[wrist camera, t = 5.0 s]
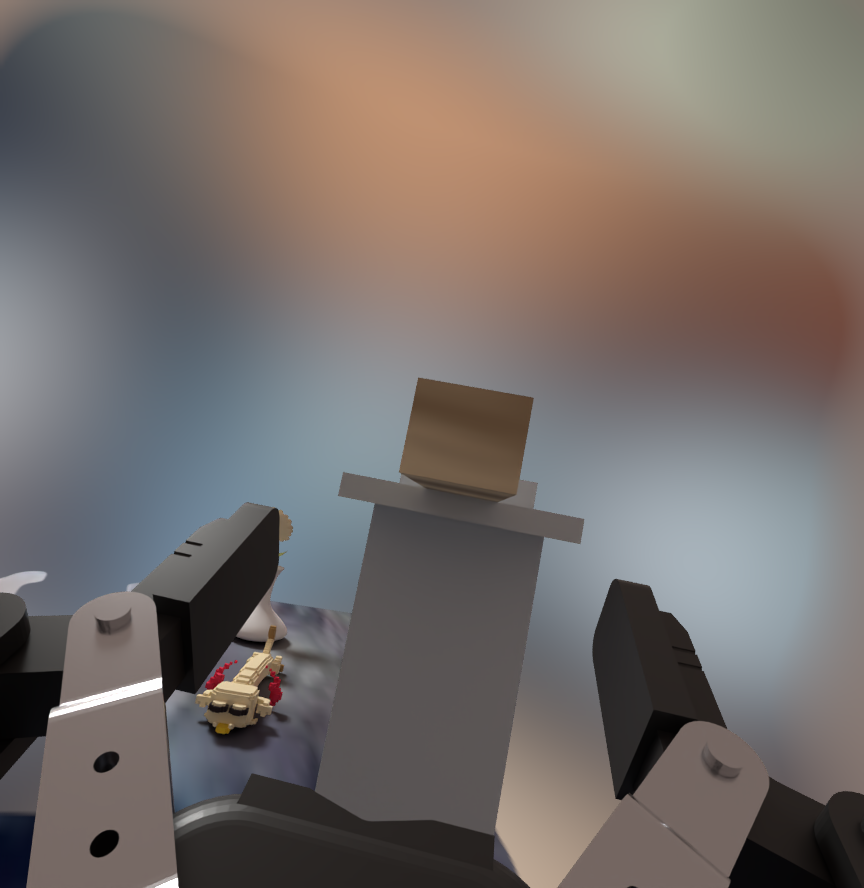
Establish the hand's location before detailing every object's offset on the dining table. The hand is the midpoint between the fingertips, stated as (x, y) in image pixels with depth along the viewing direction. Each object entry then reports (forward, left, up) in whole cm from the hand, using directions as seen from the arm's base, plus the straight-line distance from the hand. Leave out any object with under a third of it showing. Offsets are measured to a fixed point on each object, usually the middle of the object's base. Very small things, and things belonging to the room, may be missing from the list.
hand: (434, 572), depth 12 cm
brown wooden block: (+16, +3, +2) cm, 16 cm away
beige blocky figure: (+57, +36, -30) cm, 74 cm away
